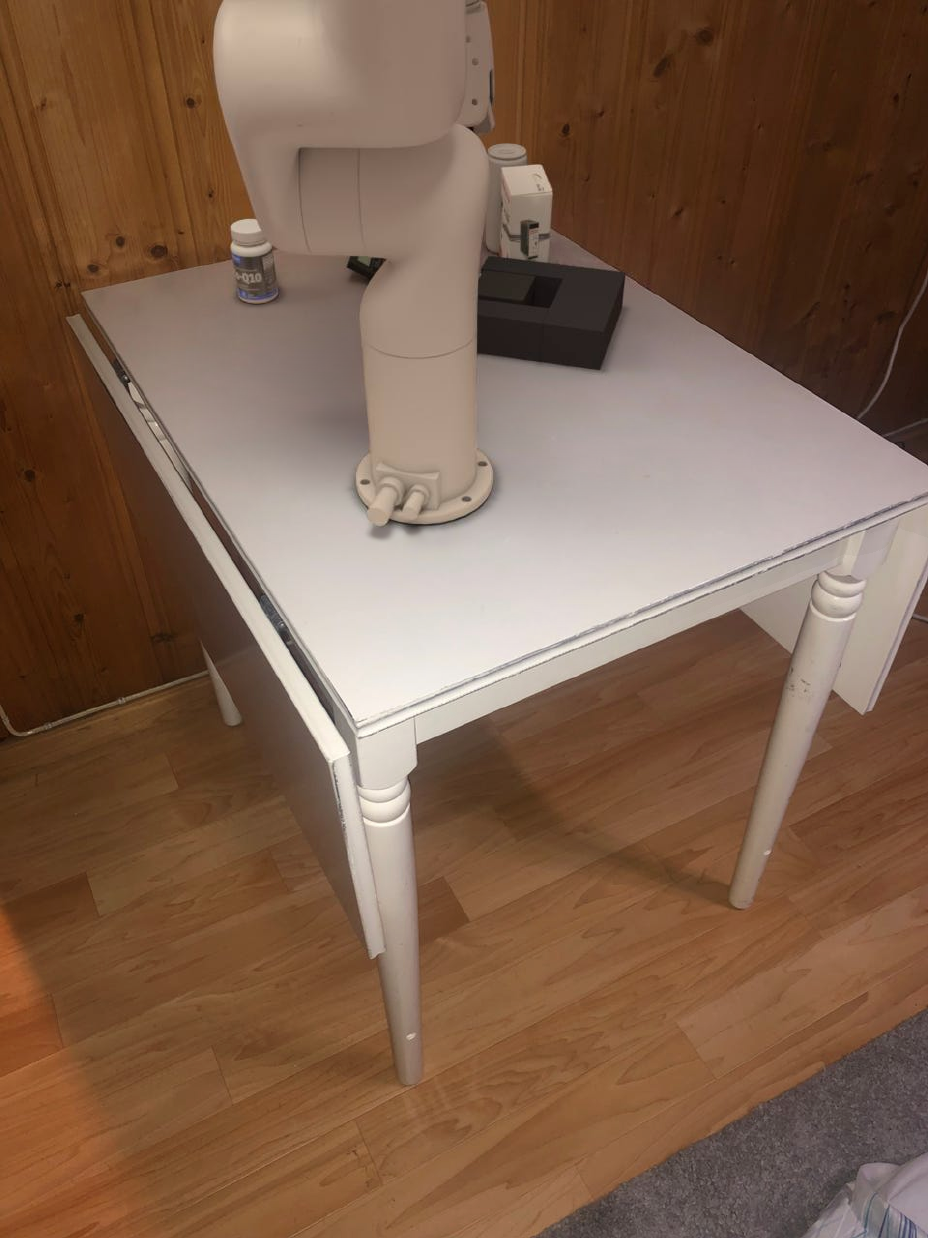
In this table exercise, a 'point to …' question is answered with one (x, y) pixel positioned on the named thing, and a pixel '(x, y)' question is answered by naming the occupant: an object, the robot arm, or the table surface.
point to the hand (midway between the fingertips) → (443, 186)
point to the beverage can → (499, 187)
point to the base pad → (553, 314)
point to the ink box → (525, 213)
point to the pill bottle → (253, 263)
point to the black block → (506, 287)
